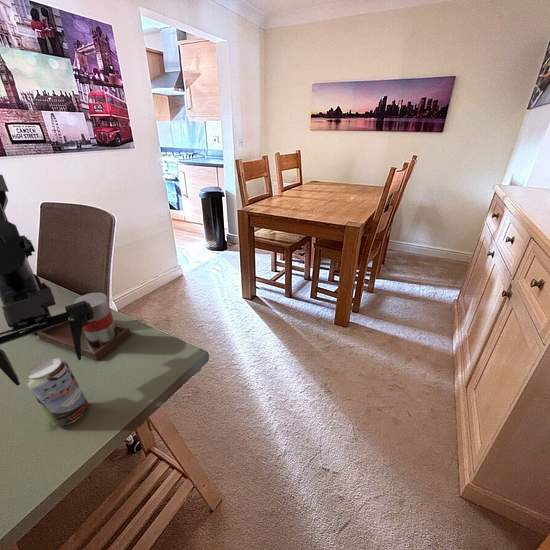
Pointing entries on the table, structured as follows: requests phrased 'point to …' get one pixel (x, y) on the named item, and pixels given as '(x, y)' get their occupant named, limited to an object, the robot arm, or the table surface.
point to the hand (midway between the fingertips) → (50, 371)
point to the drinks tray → (64, 339)
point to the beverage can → (57, 391)
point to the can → (98, 321)
